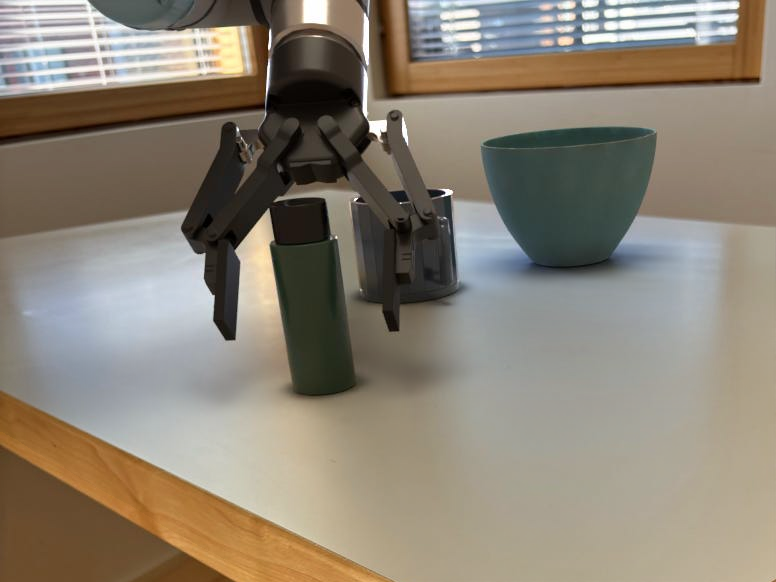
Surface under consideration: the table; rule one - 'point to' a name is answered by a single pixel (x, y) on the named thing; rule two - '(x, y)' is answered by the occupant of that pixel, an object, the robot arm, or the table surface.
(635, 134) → the green bowl
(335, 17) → the robot arm
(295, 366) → the flask
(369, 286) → the mug
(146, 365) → the table surface
